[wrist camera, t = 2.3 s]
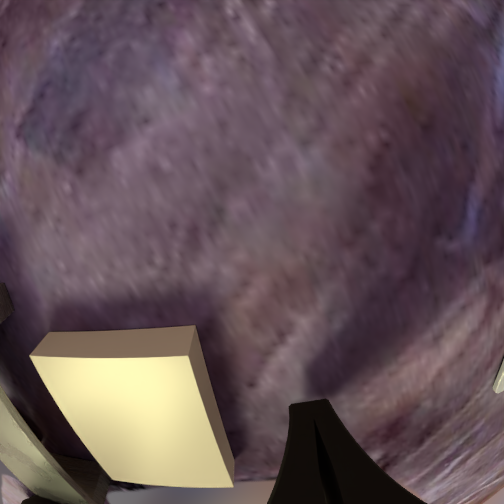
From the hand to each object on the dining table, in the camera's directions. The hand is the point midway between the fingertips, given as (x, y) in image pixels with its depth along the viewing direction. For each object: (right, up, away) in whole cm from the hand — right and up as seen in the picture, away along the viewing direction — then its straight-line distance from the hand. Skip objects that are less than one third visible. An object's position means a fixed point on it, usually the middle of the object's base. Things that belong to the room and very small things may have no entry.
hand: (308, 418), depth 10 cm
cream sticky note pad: (-6, 0, +1) cm, 6 cm away
